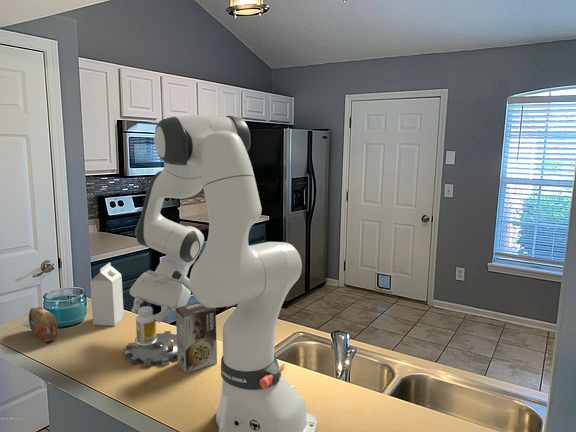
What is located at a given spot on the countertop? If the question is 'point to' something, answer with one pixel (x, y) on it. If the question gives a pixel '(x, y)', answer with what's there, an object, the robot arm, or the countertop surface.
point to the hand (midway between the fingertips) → (144, 317)
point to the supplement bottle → (145, 325)
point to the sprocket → (153, 350)
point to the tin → (43, 324)
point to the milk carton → (107, 297)
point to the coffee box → (196, 336)
